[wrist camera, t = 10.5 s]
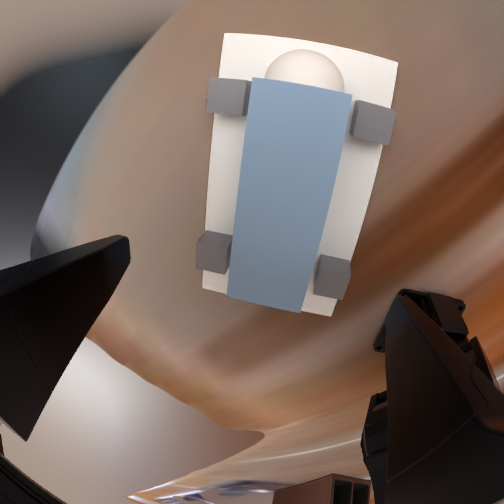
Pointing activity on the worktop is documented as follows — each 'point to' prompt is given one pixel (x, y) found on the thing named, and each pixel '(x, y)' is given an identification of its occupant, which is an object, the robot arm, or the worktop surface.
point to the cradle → (349, 170)
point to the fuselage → (286, 178)
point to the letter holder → (326, 491)
